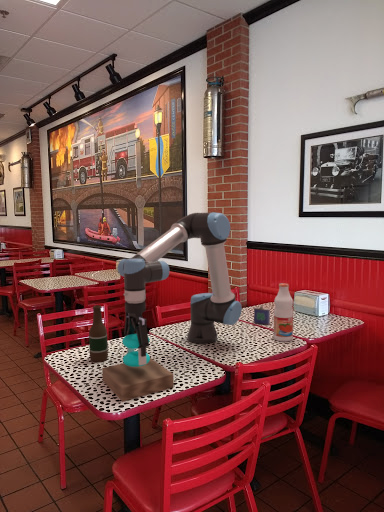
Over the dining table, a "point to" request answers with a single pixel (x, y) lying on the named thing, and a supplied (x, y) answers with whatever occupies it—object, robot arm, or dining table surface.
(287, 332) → the fruit juice
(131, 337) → the donuts
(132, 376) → the walnut stand
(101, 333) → the beer bottle
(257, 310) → the flask
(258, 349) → the dining table surface
